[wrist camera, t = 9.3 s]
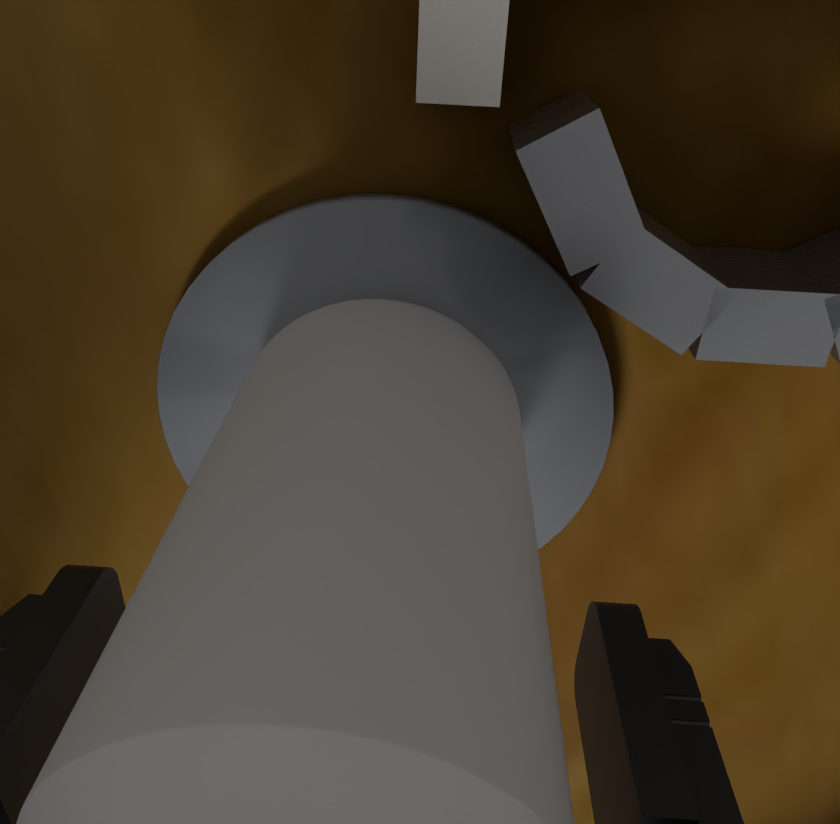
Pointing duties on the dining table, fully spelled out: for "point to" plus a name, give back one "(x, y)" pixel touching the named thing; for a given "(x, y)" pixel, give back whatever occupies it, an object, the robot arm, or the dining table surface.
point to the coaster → (409, 282)
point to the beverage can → (335, 605)
